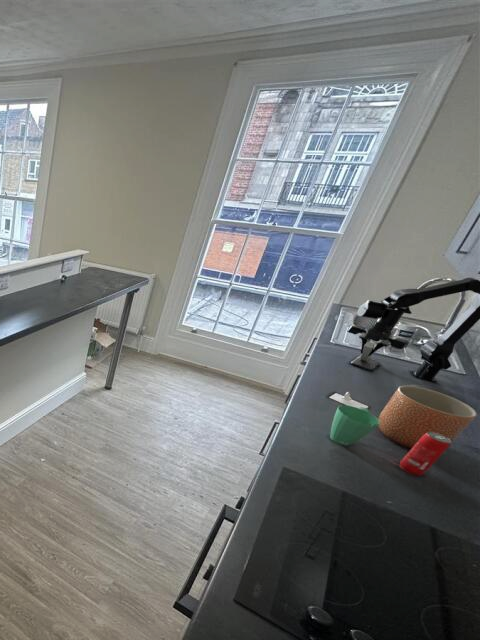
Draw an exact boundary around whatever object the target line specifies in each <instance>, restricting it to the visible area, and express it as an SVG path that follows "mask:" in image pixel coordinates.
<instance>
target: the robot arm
mask: <svg viewBox="0 0 480 640" xmlns="http://www.w3.org/2000/svg"><path fill="white" fill-rule="evenodd" d="M468 291H471V292H473V293H475V294H474V295H473V297H472V299H471V303H470V306H469V307H468V308H467V309H466V310H465V311H464V312H463V313H462V314H461V315H460V316H459V317H458V318H457V319H456V320H455V322H453V323H452V324H451V325H450V327H449V328H448V329H446V331H445V332H444V333H442V335H441V336H439V338H437V339H434V340H432V339H428V340H427V341H426V343H425V344H424V345H422V346H421V347H420V348H421V349H420V351H419V352H420V355H421V357H420V360H423V362H422V363H421V364H420V366H419V367H418V368H417V370H411V373H412V374H413V376H414V377H415V378H418V379H420V380H421V379H422V380H426V381H430V382H432V383H433V382H434V383H436V382H437V379H435V377H436V376H437V375H438V374H439V373H440V371H441V370H445V371H446V370H448V369H449V368H451V367H452V365H451V362H450V360H449V358H450V356H451V355H452V354H453V352H454V348H455V345H456V344H457V343H458V341H460V340H461V339H462V338H463V337H464V336H465V334H467V333H468V332H469V331H470V330H471V329H472V328H473V326H475V325H476V323H478V322H479V321H480V280H479V279H476V278H474V277H465V278H463V279H459V280H454V281H450V282H445V283H440V284H437V285H432V286H427V287H422V288H404V289H397V290H395V291H393V293H392V294H391V295H389V296H386V297H385V298H383V299H381V300H379V301H373V300H370V299H368V300H367V301H366V302H364V303H363V304H362V305H360V306H359V308H358V310H357V316H358V317H362V318H367V319H373V320H377V321H376V322H375V323H374V324H373V325H372V326H371V327H370V328H369V329H368V330H366V327H365V326H362V325H358V324H354V325H351V326H349V327H348V329H347V331H346V332H347V333H350V334H353V335H359V334H360V335H359V336H358V339H361V348H360V354H361V355H362V352H363V348H364V345H365V344H366V343H367V342H371V341H373V342H375V343H376V342H378V343H376V345H374V348H373V350H372V351H371V352H370V354H369V355H368V356H370V355H371V356H372V355H373V354H375V353H376V352H377V351H378V350H380V349H381V348H383V347H389V346H391V347H392V348H395V349H398V350H403V349H405V348H407V347H408V346H409V344H410V343H409V340H408V339H407V340H406V339H403V338H400V337H396V338H392V337H391V335H392V331H393V330H394V328H395V327H396V325H397V324H398V322H399V320H400V319H401V318H402V316H403V315H404V314H406V315H407V314H408V315H412V311H411V309H410V307H412V306H416V305H418V304H421V303H422V302H424V301H428V300H430V299H435V298H439V297H444V296H449V295H454V294H459V293H464V292H468Z"/></svg>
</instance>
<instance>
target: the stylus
mask: <svg viewBox="0 0 480 640" xmlns="http://www.w3.org/2000/svg"><path fill="white" fill-rule="evenodd" d="M375 344H376V343H373V342H372V341H370V342H367V343H366V344H365V345H364V348H363V352H362V354H361V355H360V356H361V359H360V360H363V361H366V362H368V361H369V360H370V359H372V358H371V357H372V355H370V356H368V355H369V354H370V352H371V351H372V350H373V349H374V348H375V346H376V345H375Z"/></svg>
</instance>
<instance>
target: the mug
mask: <svg viewBox="0 0 480 640" xmlns="http://www.w3.org/2000/svg"><path fill="white" fill-rule="evenodd" d="M332 419H333V420H332V423H331V428H330V434H329V437H330V439H331V441H333V442H334V443H336V444H338V445H341V446H345V447H348V446H350V445H352V444H354V443H356V442H358V441H360V440H361V439H362V438H364V437H365V436H367V435H369V434H371V432H373V430H375V429H376V428H377V427H379V426H378V425H379V424H380V421H379V417H377V416H375V414H372V413H371V412H370V409H368V408H364V407H360V408H356V407H352V406H348V405H345V404H342V405H339V406H338V407H337V409H336V411H335V412H334V416H333V418H332ZM340 441H341V442H340ZM342 442H344V443H342ZM345 443H349V444H345Z"/></svg>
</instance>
